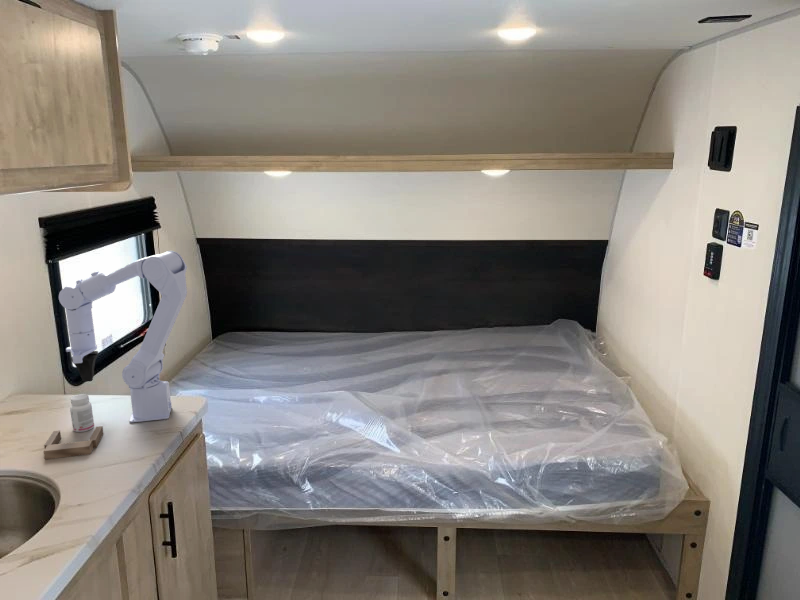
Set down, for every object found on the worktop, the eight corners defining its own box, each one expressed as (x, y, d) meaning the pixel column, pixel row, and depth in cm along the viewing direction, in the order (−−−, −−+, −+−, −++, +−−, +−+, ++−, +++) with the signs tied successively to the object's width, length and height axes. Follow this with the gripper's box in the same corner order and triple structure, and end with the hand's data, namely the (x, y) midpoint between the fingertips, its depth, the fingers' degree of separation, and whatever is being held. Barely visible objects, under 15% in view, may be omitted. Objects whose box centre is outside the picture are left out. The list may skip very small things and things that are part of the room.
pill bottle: (98, 424, 155) (94, 393, 153) (87, 432, 150) (82, 401, 148) (80, 423, 155) (76, 392, 153) (68, 432, 150) (64, 400, 148)
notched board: (103, 433, 150) (102, 426, 149) (93, 453, 140) (92, 445, 139) (54, 438, 147) (53, 431, 147) (41, 459, 137) (40, 451, 137)
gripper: (71, 323, 162) (78, 372, 165) (56, 340, 148) (63, 392, 152) (100, 322, 164) (106, 369, 167) (87, 338, 150) (94, 389, 153)
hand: (88, 380), depth 159 cm, fingers closed
